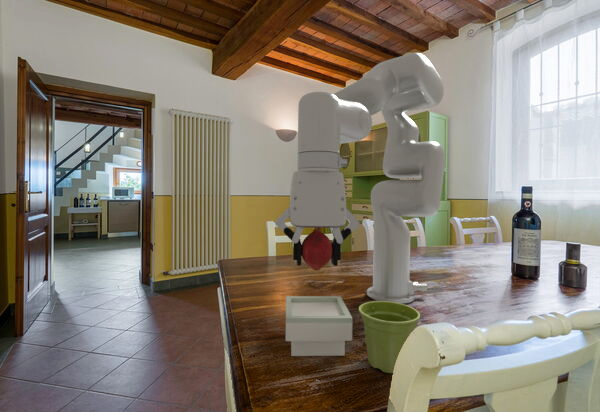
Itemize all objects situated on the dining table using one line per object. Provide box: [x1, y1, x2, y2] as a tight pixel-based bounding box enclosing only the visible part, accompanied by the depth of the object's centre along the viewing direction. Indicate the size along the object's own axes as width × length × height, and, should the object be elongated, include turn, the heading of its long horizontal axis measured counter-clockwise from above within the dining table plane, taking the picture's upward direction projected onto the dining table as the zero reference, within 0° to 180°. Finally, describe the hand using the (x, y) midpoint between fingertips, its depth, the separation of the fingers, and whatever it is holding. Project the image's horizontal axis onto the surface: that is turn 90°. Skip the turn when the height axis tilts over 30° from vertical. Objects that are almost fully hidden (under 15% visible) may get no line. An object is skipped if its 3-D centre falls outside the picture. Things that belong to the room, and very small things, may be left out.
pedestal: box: [285, 295, 353, 357], centre depth 55 cm, size 11×11×7 cm
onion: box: [301, 228, 333, 271], centre depth 55 cm, size 6×6×8 cm
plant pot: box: [358, 300, 421, 374], centre depth 48 cm, size 9×9×9 cm
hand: (316, 263), depth 55 cm, fingers closed on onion, 5 cm apart
